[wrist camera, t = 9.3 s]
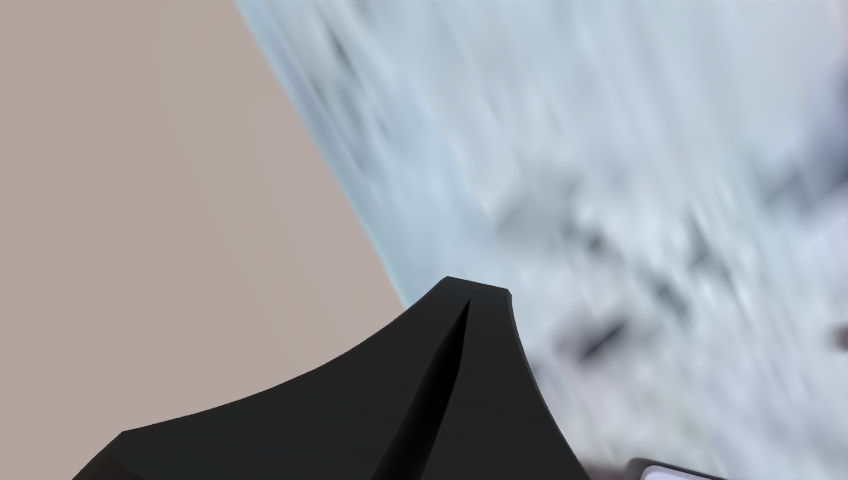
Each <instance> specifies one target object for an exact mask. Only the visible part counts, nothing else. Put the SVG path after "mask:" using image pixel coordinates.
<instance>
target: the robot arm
mask: <svg viewBox="0 0 848 480" xmlns="http://www.w3.org/2000/svg"><path fill="white" fill-rule="evenodd" d="M72 480H592V479H591V478H590V476H589V475H588V473H587V472H586V471H585V469H584V468H583V466H582V465H581V464H580V462H579V461H578V459H577V458H576V456H575V454H574V453H573V451H572V449H571V448H570V446H569V445H568V443H567V441H566V440H565V438H564V436H563V435H562V433H561V431H560V429H559V428H558V426H557V424H556V422H555V420H554V418H553V417H552V415H551V413H550V411H549V409H548V407H547V405H546V403H545V401H544V399H543V397H542V395H541V392H540V390H539V388H538V386H537V383H536V381H535V379H534V376H533V374H532V372H531V369H530V367H529V364H528V361H527V359H526V356H525V353H524V350H523V347H522V344H521V341H520V338H519V334H518V331H517V327H516V323H515V319H514V314H513V308H512V295H511V293H510V292H509V290H508V289H505V288H500V287H496V286H491V285H487V284H482V283H477V282H473V281H468V280H463V279H459V278H454V277H449V276H447V277H445V278H443V279H442V280H441V281H439V282H438V283H437V284H436V285H435V286H434V287H433V288H432V289H431V290H430V291H429V292H428V293H427V294H425V295H424V296H423V297H422V298H421V299H420V300H418V301H417V302H416V303H415V304H414V305H412V306H411V307H410V308H409V309H407V310H406V311H405V312H404V313H402V314H401V315H400V316H398V317H397V318H396V319H395V320H393V321H392V322H391V323H390V324H388V325H387V326H385V327H384V328H382V329H381V330H379V331H378V332H376V333H375V334H374V335H372V336H371V337H369V338H368V339H366V340H365V341H363V342H362V343H360V344H359V345H357V346H355V347H354V348H352V349H350V350H349V351H347V352H345V353H344V354H342V355H340V356H338V357H337V358H335V359H333V360H331V361H329V362H327V363H326V364H324V365H322V366H320V367H318V368H316V369H314V370H312V371H309V372H307V373H305V374H302V375H300V376H298V377H296V378H293V379H291V380H289V381H286V382H284V383H282V384H279V385H277V386H275V387H273V388H270V389H267V390H265V391H262V392H259V393H257V394H254V395H251V396H249V397H246V398H243V399H240V400H237V401H234V402H231V403H228V404H225V405H222V406H218V407H216V408H212V409H209V410H205V411H202V412H199V413H195V414H191V415H187V416H183V417H180V418H176V419H172V420H168V421H164V422H160V423H156V424H152V425H148V426H144V427H140V428H136V429H132V430H127V431H123V432H121V433H120V434H119V435H118V436H117V437H116V438H115V439H114V440H112V441H111V442H110V443H109V444H108V445H107V446H106V447H105V448H104V449H103V450H101V451H100V452H99V453H98V454H97V455H96V456H95V457H94V458H93V459H92V460H91V461H90V462H89V463H88V464H87V465H86V466H85V467H84V468H83V469H82V470H81V471H80V472H79V473H78V474H77V475H76V476H75V477H74V478H73V479H72ZM640 480H710V479H706V478H703V477H699V476H695V475H691V474H687V473H683V472H680V471H676V470H672V469H668V468H664V467H660V466H649V467H647V468H646V469H645V470H644V472H643V474H642V476H641V479H640Z"/></svg>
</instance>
